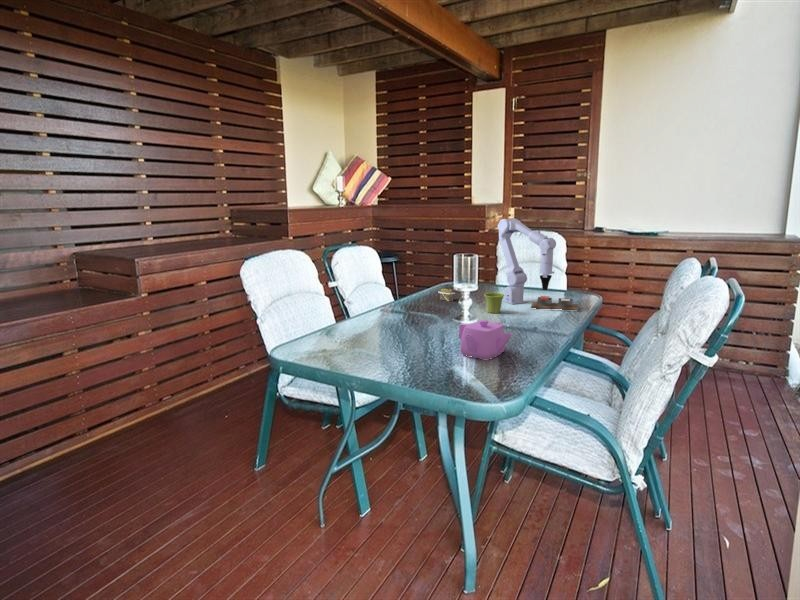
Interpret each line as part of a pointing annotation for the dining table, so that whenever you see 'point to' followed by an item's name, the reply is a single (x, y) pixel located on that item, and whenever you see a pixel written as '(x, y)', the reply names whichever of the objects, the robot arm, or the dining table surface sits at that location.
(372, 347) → the dining table surface
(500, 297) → the plant pot
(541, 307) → the block
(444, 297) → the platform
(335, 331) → the dining table surface
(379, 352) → the dining table surface
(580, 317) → the dining table surface
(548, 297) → the red button
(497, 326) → the teakettle
